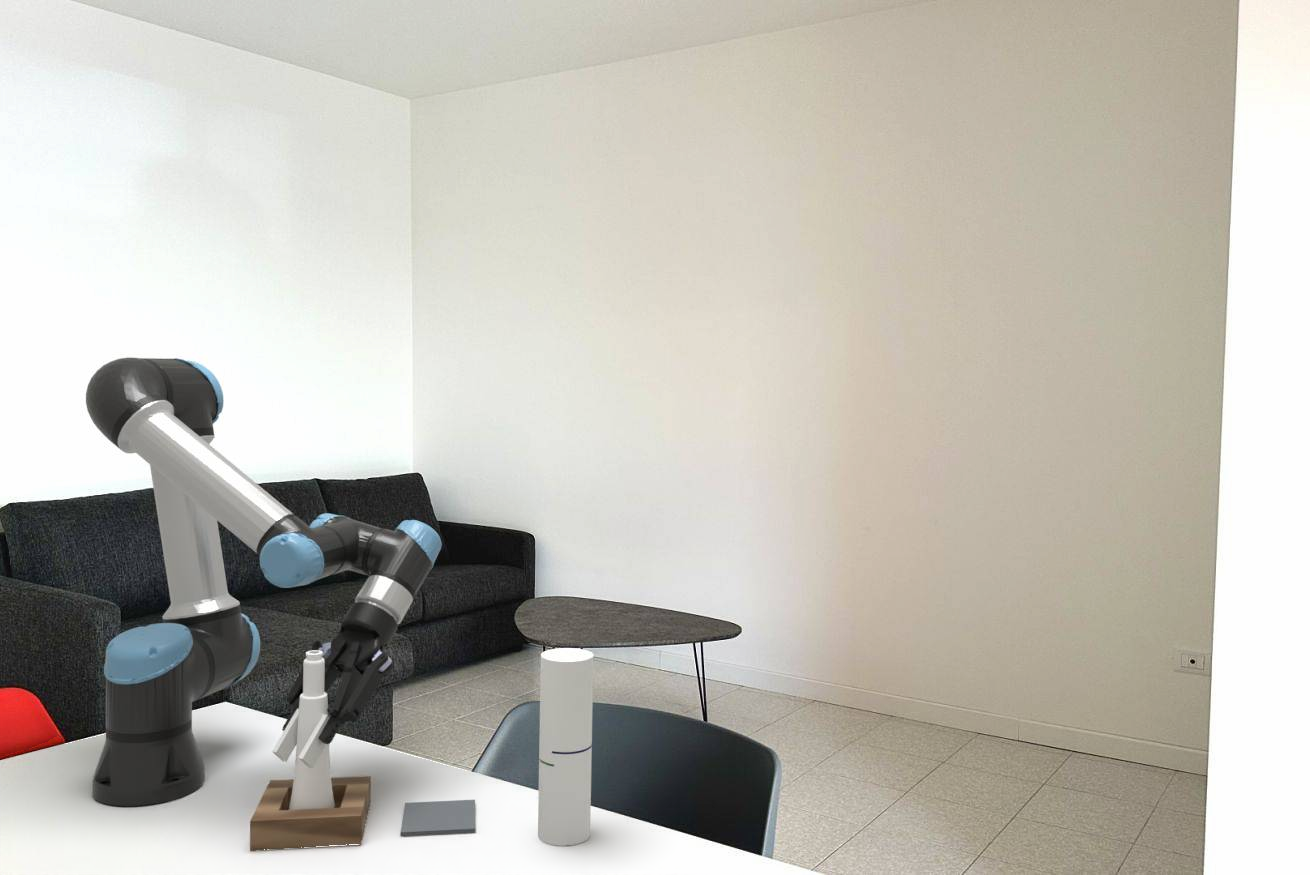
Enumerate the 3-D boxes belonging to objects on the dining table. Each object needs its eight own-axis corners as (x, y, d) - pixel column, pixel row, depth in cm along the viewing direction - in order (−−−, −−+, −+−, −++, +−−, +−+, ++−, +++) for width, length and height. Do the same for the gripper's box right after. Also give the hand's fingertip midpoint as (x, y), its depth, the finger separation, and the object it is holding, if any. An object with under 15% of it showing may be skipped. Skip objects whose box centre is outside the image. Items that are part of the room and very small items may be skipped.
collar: (270, 807, 152) (270, 780, 151) (370, 802, 154) (370, 776, 154) (250, 851, 138) (250, 821, 138) (360, 845, 140) (361, 815, 140)
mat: (405, 806, 153) (405, 802, 153) (475, 803, 155) (475, 799, 155) (400, 836, 143) (400, 832, 143) (475, 832, 145) (475, 828, 145)
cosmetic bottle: (315, 821, 142) (317, 660, 140) (279, 813, 144) (281, 654, 142) (343, 805, 147) (346, 649, 146) (308, 797, 149) (311, 644, 148)
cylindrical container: (582, 848, 141) (585, 663, 139) (530, 842, 142) (533, 659, 141) (595, 826, 148) (599, 650, 146) (546, 821, 149) (549, 646, 148)
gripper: (434, 635, 154) (355, 784, 140) (343, 620, 162) (259, 761, 148) (411, 606, 149) (327, 758, 135) (319, 592, 156) (230, 735, 142)
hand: (292, 759), depth 141 cm, fingers closed on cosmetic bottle, 4 cm apart
